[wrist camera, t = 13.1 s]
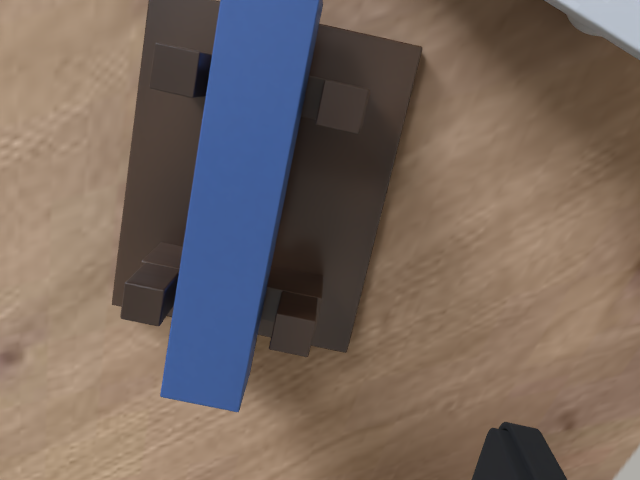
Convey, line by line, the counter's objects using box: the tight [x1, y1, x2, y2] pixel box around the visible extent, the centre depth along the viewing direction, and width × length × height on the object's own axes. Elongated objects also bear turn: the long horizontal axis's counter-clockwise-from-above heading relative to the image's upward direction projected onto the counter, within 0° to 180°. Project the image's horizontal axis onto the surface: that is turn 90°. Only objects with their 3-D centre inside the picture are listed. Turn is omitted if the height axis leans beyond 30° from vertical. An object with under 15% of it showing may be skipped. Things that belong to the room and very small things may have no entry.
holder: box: [112, 0, 422, 357], centre depth 25 cm, size 12×15×7 cm
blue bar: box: [160, 0, 323, 412], centre depth 22 cm, size 3×16×3 cm, turn 168°
